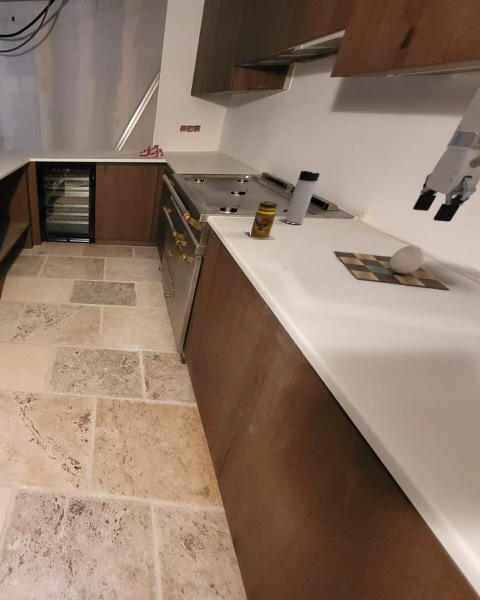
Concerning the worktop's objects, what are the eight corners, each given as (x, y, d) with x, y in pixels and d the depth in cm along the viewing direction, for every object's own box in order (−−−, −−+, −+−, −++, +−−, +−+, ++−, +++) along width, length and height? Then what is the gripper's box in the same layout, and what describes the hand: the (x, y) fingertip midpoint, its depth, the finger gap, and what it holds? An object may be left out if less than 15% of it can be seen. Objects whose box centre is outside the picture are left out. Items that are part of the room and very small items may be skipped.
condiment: (253, 239, 115) (263, 205, 108) (243, 231, 122) (252, 199, 116) (274, 239, 114) (285, 205, 108) (262, 231, 122) (272, 199, 115)
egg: (388, 274, 89) (402, 248, 85) (382, 266, 94) (396, 240, 90) (418, 279, 87) (434, 252, 83) (410, 270, 92) (426, 244, 87)
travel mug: (280, 221, 131) (297, 170, 121) (290, 219, 134) (307, 168, 123) (295, 226, 126) (313, 172, 116) (305, 223, 129) (324, 171, 119)
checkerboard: (408, 259, 99) (409, 258, 98) (448, 290, 83) (449, 288, 82) (333, 252, 104) (334, 250, 104) (356, 279, 88) (357, 277, 88)
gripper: (524, 146, 65) (470, 227, 74) (469, 138, 79) (429, 207, 88) (477, 144, 68) (430, 223, 76) (431, 137, 81) (396, 205, 90)
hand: (430, 215), depth 82 cm, fingers open, 9 cm apart
